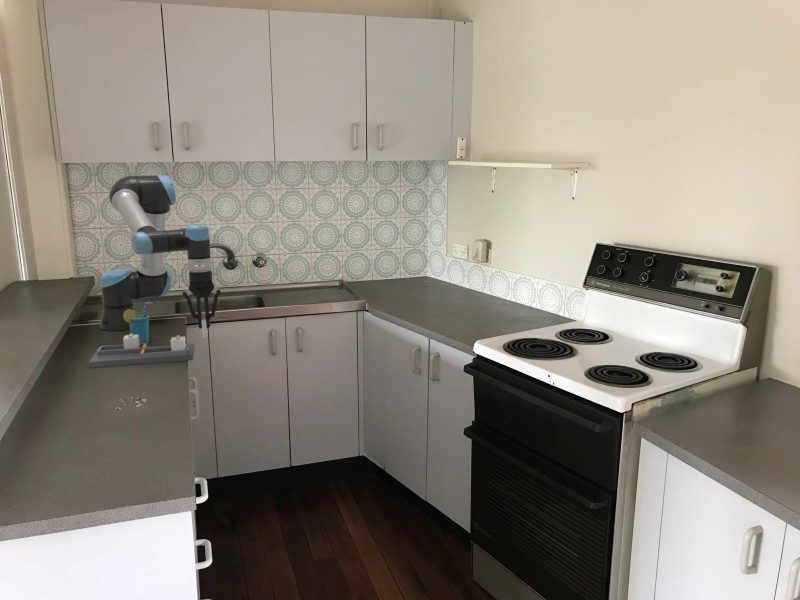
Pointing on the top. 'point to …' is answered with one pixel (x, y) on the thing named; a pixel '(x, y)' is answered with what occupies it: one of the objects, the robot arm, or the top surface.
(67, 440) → the top surface
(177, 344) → the tab
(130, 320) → the cup
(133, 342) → the tab
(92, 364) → the switch bank
